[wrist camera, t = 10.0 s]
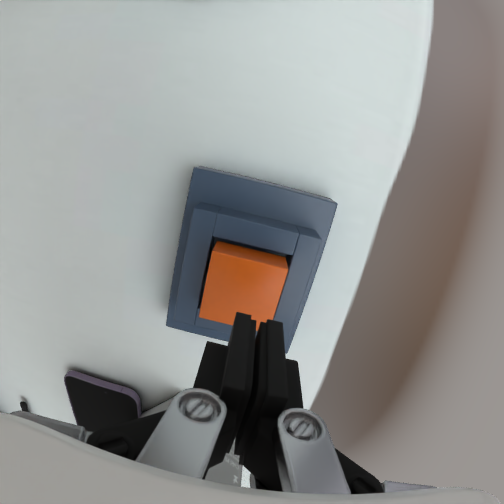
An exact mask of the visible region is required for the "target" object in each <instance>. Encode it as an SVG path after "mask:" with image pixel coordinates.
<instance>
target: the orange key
mask: <svg viewBox="0 0 504 504" xmlns="http://www.w3.org/2000/svg"><path fill="white" fill-rule="evenodd" d="M287 273H288V266H287V261H286V258H285V257H282V256H278V255H274V254H270V253H266V252H262V251H258V250H254V249H250V248H245V247H241V246H237V245H233V244H229V243H225V242H221V241H217V242H216V244H215V246H214V248H213V251H212V254H211V259H210V263H209V268H208V273H207V278H206V283H205V287H204V292H203V297H202V302H201V307H200V312H199V317H200V318H204V319H208V320H212V321H216V322H220V323H225V324H229V325H233V323H234V319H235V316H236V312H240V313H244V314H248V315H252V316H251V319H252V320H256V331H258V328H259V325H260V322H265V323H266V321H267V319H270V320H273V318H274V314H275V311H276V308H277V305H278V302H279V299H280V295H281V292H282V289H283V286H284V283H285V279H286V276H287Z"/></svg>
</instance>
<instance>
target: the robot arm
mask: <svg viewBox="0 0 504 504" xmlns="http://www.w3.org/2000/svg"><path fill="white" fill-rule="evenodd" d="M251 316H252V315H248V314H244V313H240V312H236V316H235V319H234V323H233V327H232V331H231V335H230V339H229V343H228V346H225V345H221V344H217V343H213V342H209V341H207V343H206V347H205V350H204V353H203V356H202V360H201V363H200V366H199V370H198V373H197V376H196V380H195V383H194V386H193V388H190V389H185V390H183V391H181V392H179V393H178V394H177V395H176V396H175V397H174V399H173V401H172V402H171V404H170V406H169V407H168V409H167V410H164V411H161V412H158V413H155V414H152V415H148V416H145V417H142V418H138V419H135V420H131V421H128V422H124V423H120V424H117V425H113V426H109V427H105V428H102V429H99V430H97V431H95V432H90V431H85V427H83V426H78V425H74V424H70V423H66V422H62V421H58V420H54V419H50V418H47V417H43V416H40V415H36V414H33V413H30V412H26V411H16V412H12V413H11V414H6V413H2V412H0V504H501V503H500V501H499V500H498V499H497V498H496V497H495V496H493V495H492V494H490V493H488V492H485V491H482V490H477V489H472V488H462V487H461V488H460V487H446V488H437V487H433V486H427V485H416V484H407V483H399V482H392V481H384V482H383V483H380V482H379V480H378V479H376V478H375V477H374V476H373V475H371V474H370V473H368V472H367V471H366V470H364V469H363V468H361V467H360V466H359V465H357V464H356V463H354V462H353V461H352V460H350V459H349V458H348V457H346V456H345V455H344V454H342V453H341V452H339V451H338V450H337V449H335V448H334V445H333V443H332V440H331V437H330V434H329V432H328V429H327V426H326V424H325V422H324V421H323V420H322V418H321V417H319V416H318V415H317V414H315V413H314V412H312V411H310V410H307V409H303V401H302V393H301V384H300V376H299V368H298V362H297V361H295V360H290V359H286V356H285V344H284V331H283V322H279V321H274V320H270V319H267V321H266V323H265V322H260V325H259V328H258V331H257V335H256V320H252V319H251ZM255 337H256V338H255ZM235 437H236V438H235ZM234 440H235V447H234V455H239V465H244V467H245V468H247V469H248V470H249V471H250V472H251V474H250V487H251V488H246V487H239V486H233V485H227V484H222V483H217V482H212V481H207V480H205V478H206V476H207V473H208V471H209V468H211V467H213V466H215V465H217V464H219V463H221V462H223V460H224V457H225V455H226V453H228V454H229V453H230V450H231V447H232V445H233V442H234Z"/></svg>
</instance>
